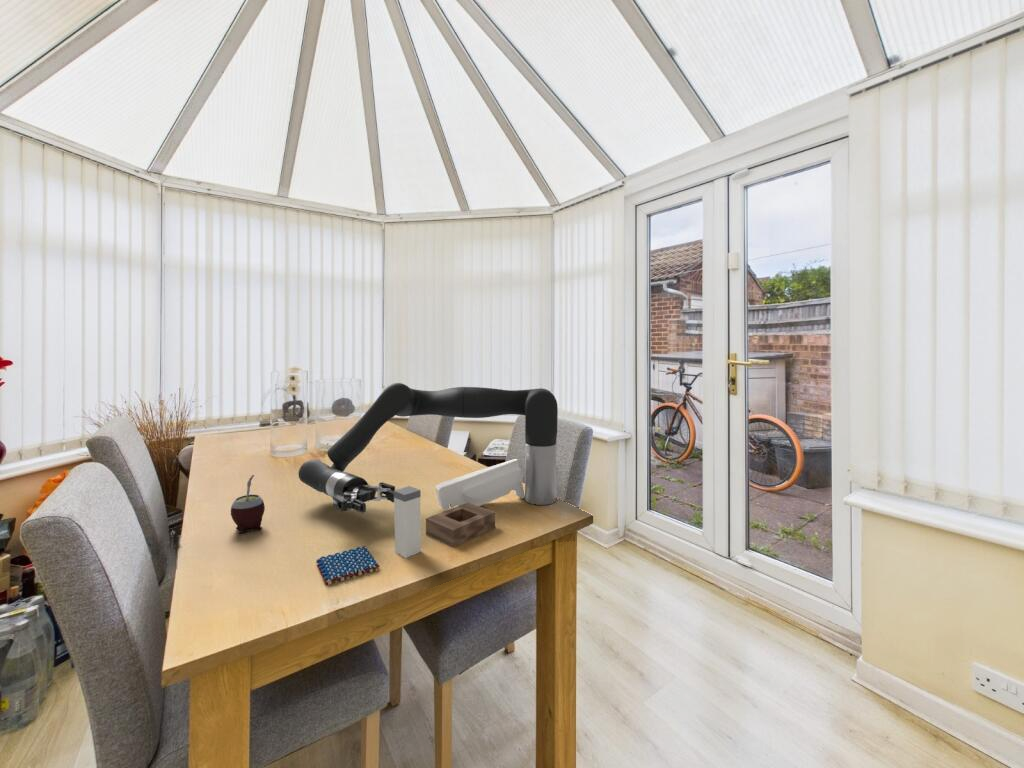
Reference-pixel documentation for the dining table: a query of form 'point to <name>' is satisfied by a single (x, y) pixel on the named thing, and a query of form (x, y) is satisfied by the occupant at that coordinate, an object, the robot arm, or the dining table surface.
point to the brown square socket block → (460, 524)
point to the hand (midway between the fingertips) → (381, 503)
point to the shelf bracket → (482, 485)
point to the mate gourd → (248, 511)
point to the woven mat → (346, 564)
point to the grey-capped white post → (407, 521)
